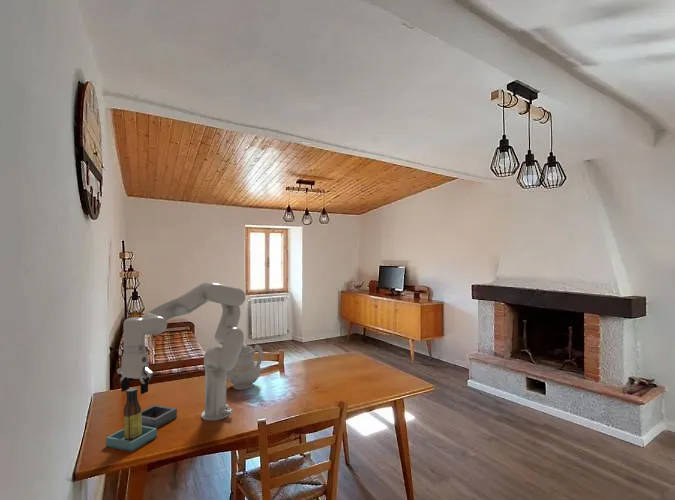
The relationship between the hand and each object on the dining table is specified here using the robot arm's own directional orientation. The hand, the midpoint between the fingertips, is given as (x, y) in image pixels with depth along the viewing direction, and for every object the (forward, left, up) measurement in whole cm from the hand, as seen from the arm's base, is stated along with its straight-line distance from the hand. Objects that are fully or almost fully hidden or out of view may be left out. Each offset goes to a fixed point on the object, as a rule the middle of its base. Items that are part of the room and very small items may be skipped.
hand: (134, 391), depth 151 cm
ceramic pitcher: (-8, -70, -20) cm, 74 cm away
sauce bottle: (0, 0, -19) cm, 19 cm away
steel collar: (+6, -17, -20) cm, 27 cm away
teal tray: (0, +1, -20) cm, 20 cm away
